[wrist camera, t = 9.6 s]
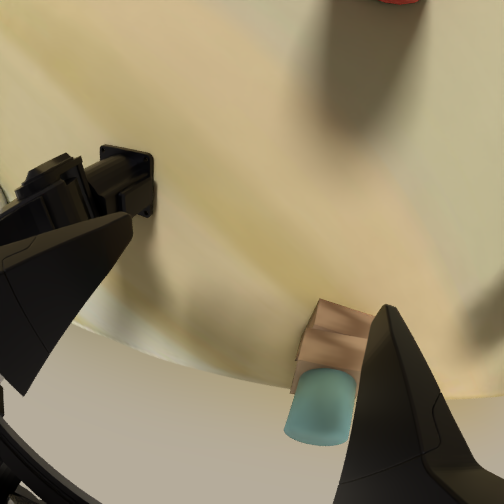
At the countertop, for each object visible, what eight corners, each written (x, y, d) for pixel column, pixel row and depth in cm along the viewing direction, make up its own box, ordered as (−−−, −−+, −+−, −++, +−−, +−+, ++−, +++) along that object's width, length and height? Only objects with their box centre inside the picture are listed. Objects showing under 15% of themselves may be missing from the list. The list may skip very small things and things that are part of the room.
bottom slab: (302, 334, 29) (295, 360, 27) (320, 297, 26) (314, 324, 23) (352, 350, 29) (349, 376, 26) (377, 315, 25) (377, 343, 22)
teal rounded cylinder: (292, 388, 24) (277, 435, 20) (309, 361, 21) (294, 417, 17) (342, 402, 23) (332, 449, 19) (366, 377, 20) (359, 432, 16)
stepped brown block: (298, 364, 27) (289, 393, 24) (306, 327, 24) (297, 359, 21) (354, 375, 25) (350, 405, 23) (373, 339, 22) (371, 373, 19)
